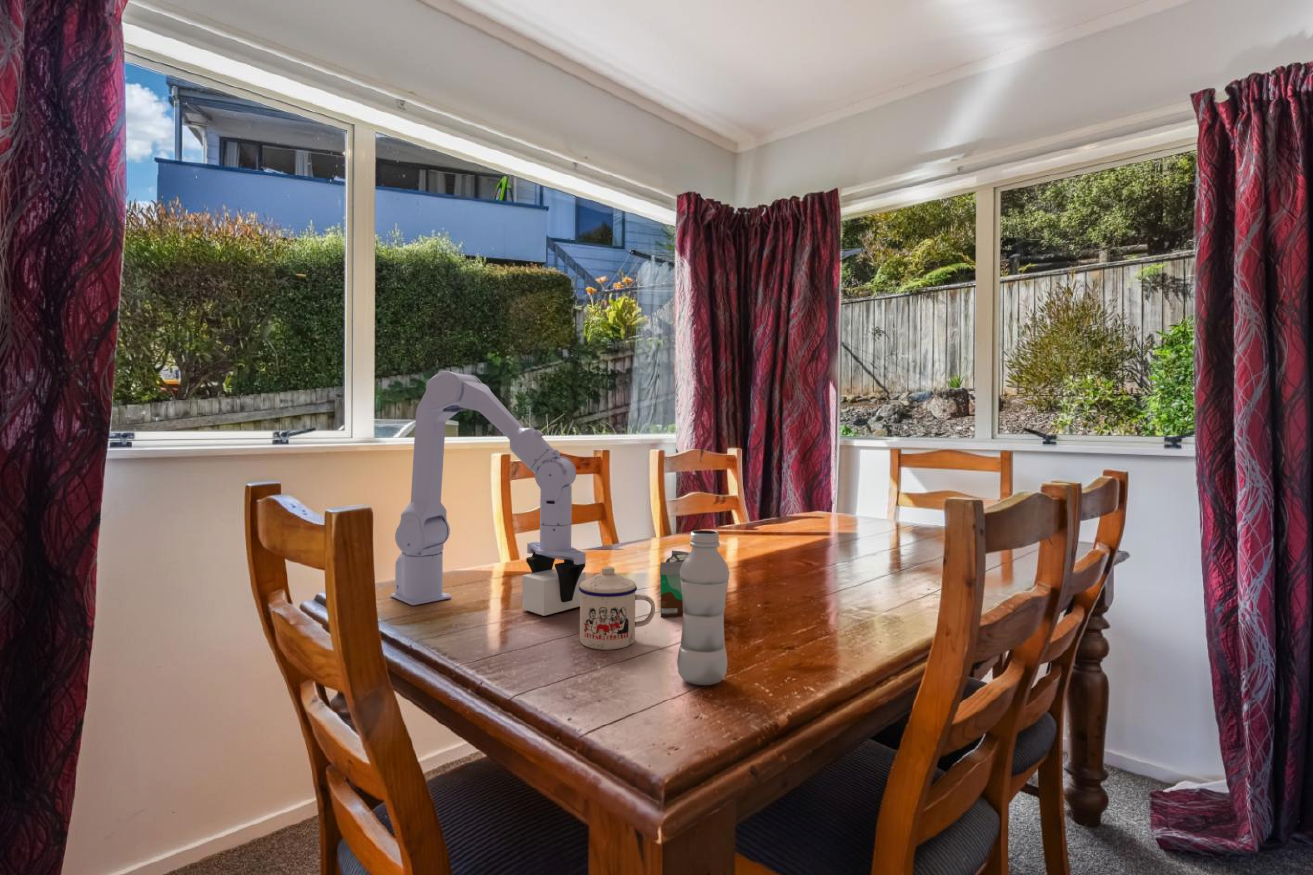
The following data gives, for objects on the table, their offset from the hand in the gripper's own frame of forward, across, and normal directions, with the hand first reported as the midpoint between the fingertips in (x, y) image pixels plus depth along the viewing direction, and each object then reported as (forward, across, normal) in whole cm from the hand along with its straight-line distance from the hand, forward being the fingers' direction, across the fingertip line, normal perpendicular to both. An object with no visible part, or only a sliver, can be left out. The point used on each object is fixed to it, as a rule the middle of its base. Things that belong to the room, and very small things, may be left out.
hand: (554, 597), depth 122 cm
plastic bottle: (+2, +41, -8) cm, 42 cm away
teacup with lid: (+2, +21, -4) cm, 22 cm away
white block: (+2, 0, 0) cm, 2 cm away
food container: (+2, +17, +16) cm, 23 cm away
